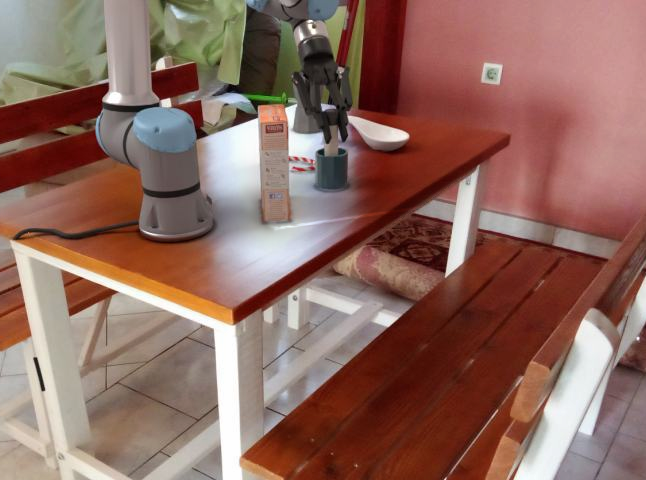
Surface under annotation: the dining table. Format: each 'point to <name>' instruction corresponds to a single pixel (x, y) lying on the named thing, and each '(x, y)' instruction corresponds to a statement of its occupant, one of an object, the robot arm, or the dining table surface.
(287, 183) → the cracker box
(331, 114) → the marker
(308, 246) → the dining table surface
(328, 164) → the pen holder
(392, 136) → the spoon rest
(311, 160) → the candy cane
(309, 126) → the coffeepot
